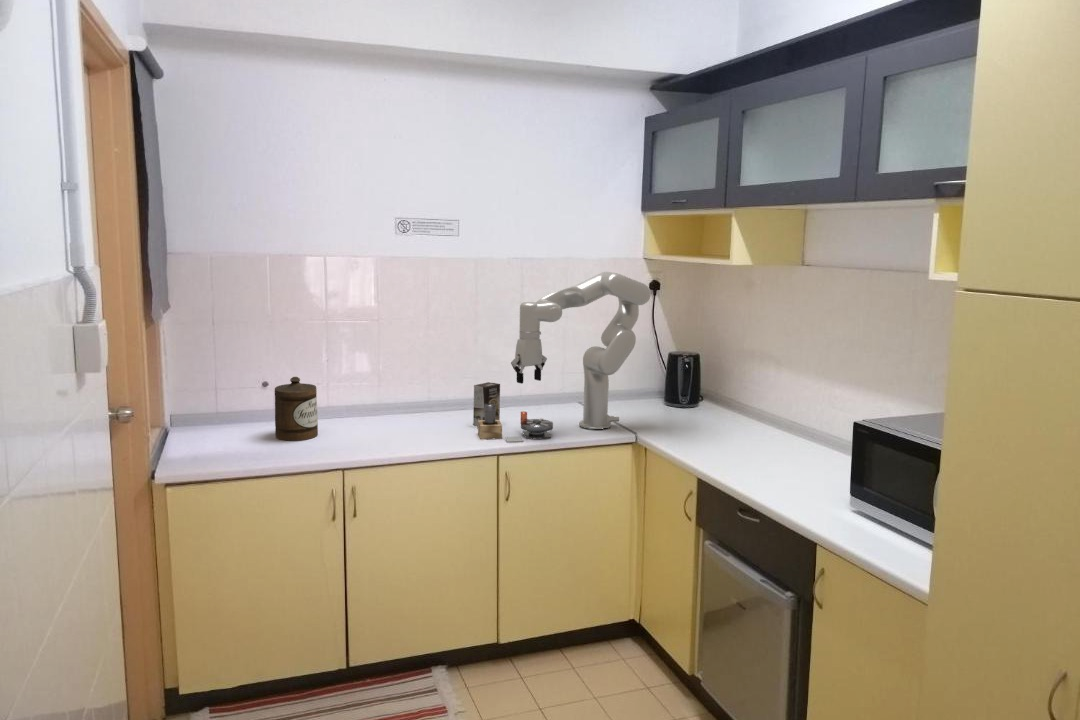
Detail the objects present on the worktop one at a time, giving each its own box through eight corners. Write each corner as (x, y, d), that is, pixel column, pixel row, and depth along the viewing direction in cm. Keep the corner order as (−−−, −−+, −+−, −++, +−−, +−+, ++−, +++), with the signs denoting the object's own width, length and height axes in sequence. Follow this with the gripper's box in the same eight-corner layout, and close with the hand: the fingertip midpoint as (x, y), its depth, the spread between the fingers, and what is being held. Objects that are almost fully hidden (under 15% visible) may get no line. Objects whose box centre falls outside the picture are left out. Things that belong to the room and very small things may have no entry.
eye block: (498, 432, 297) (499, 419, 297) (502, 438, 290) (502, 425, 289) (477, 433, 296) (478, 420, 295) (480, 439, 288) (480, 425, 287)
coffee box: (485, 427, 304) (485, 387, 301) (472, 425, 308) (473, 384, 305) (500, 423, 311) (500, 383, 308) (488, 420, 315) (488, 381, 312)
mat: (520, 437, 292) (520, 436, 291) (523, 441, 286) (523, 440, 286) (504, 438, 290) (504, 436, 290) (507, 442, 285) (507, 441, 285)
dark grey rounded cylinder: (494, 434, 295) (494, 403, 293) (495, 437, 291) (496, 405, 289) (483, 434, 294) (484, 403, 292) (485, 437, 290) (485, 406, 288)
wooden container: (305, 442, 279) (303, 382, 275) (267, 439, 282) (265, 379, 278) (325, 432, 294) (323, 374, 290) (288, 429, 296) (286, 371, 293)
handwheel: (549, 423, 301) (549, 407, 300) (555, 431, 290) (556, 415, 289) (517, 424, 299) (518, 408, 298) (523, 432, 287) (523, 416, 286)
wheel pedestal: (545, 431, 300) (546, 425, 300) (550, 438, 291) (551, 431, 291) (522, 432, 298) (522, 426, 298) (527, 439, 290) (527, 432, 289)
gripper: (540, 332, 300) (539, 377, 303) (504, 336, 289) (504, 382, 292) (553, 334, 295) (552, 380, 298) (517, 338, 283) (517, 386, 287)
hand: (528, 381), depth 295 cm, fingers open, 8 cm apart
